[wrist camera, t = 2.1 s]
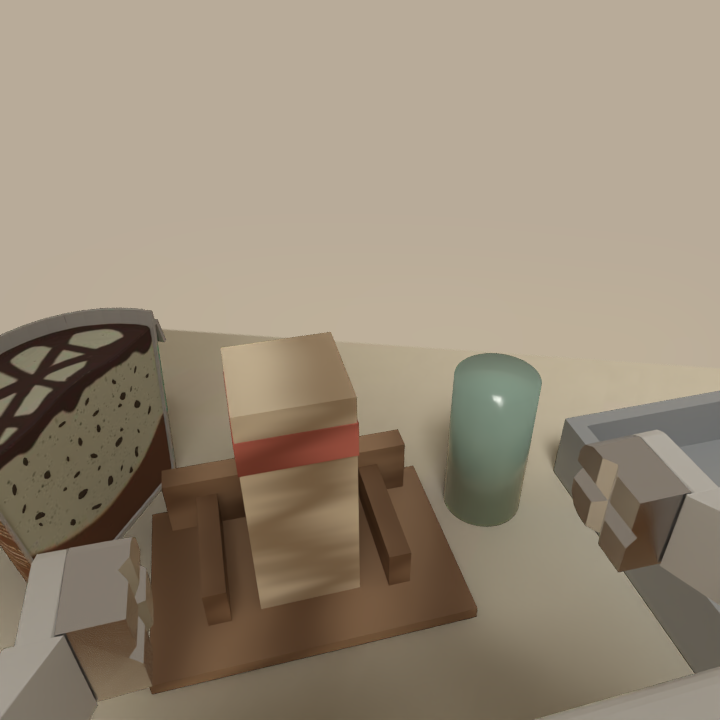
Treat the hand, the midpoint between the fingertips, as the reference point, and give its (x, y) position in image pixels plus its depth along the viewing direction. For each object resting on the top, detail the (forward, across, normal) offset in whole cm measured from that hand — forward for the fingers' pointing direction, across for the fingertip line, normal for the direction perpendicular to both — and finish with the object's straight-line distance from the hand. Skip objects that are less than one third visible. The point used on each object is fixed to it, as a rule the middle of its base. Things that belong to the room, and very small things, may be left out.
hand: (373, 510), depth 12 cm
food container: (+18, +11, +17) cm, 28 cm away
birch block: (+12, 0, +16) cm, 20 cm away
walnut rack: (+12, 0, +17) cm, 21 cm away
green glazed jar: (+14, -10, +17) cm, 24 cm away
